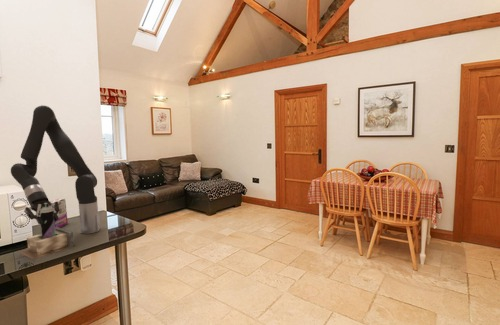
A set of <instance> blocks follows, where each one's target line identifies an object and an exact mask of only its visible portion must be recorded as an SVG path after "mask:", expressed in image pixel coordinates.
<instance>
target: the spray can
mask: <svg viewBox="0 0 500 325" xmlns="http://www.w3.org/2000/svg"><path fill="white" fill-rule="evenodd" d="M40 217H41V218H42V220H43V225H40V230H41V233H40V234H42V239H46V238H49V237H53V236H56V231H55V220H54V209H53V208H52V207H50V206H49V205H48V204H44V206H43V208H42V209H40Z"/></svg>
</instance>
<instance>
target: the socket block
mask: <svg viewBox="0 0 500 325" xmlns="http://www.w3.org/2000/svg"><path fill="white" fill-rule="evenodd" d="M55 231H56V236H53V237H49V238H46V239H42V233H39V234H35V235H32V236H28V237H26V241H27V248H28V250H30V251H32V252H34V253H37V254H39V255H41V254H44V253H47V252H50V251H53V250H56V249H59V248H62V247H65V246H68V239H67V234H66V233H63V232H60V231H57V230H55Z"/></svg>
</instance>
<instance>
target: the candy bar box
mask: <svg viewBox="0 0 500 325" xmlns="http://www.w3.org/2000/svg"><path fill="white" fill-rule="evenodd" d="M50 202H51V203H55V202H58V206H59V212H58V214H57V216H58V220H57V221H56V222H55V227H59V228H62V227H64V226H66V225H68V224H69V223H68V222H69V221H68V214H67V204H66V198H57V199H54V200H51V201H50ZM51 207H52V208H53V209H54V207H53V206H52V205H51ZM54 210H55V209H54Z"/></svg>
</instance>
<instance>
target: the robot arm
mask: <svg viewBox="0 0 500 325" xmlns="http://www.w3.org/2000/svg"><path fill="white" fill-rule="evenodd" d="M45 134H47V136H48V139H49V140H50V142H51V144H52V147H53V148H54V150H55V152H56V153H57V155H58V156H59V157H60V159H61V160H62V161H63V162H64V163H65V164H66V165H67V166H68V167H70V169H72V171H73V172H74V173H75V175H76V177H77V178H76V180H75V184H74V188H75V196H76V199H77V201H78V210H79V211H78V212H79V224H80V233H81V234H84V235H88V234H94V233H96V232H97V233H98V232H99V231H100V230H101V224H100V223H101V221H100V220H101V219H100V213H99V207H98V197H97V196H96V194H95V188H96V187H97V184H98V179H97V177H96V175H95V174H94V173H93V172H92V170H91V169H90V168H89V166H88V165H87V164H86V162H85V161H84V158H83V157H82V155H81V153H80V151H79V150H78V148H77V147H76V145H75V144H74V142H73V141H72V139H71V138H70V137H69V136H68V135H67V134H66V132H65V131H64V130H63V128H62V127H61V125H60V123H59V122H58V119H57V117H56V114H55V111H54V110H53V108H51V107H49V106H48V105H43V104H41V105H39V106H37V107H35V108H34V110H33V114H32V121H31V126H30V130H29V133H28V135H27V138H26V140H25V143H24V145H23V148H22V151H21V153H20V159H22V160H24V161H25V164H24V163H21V162H20V163H19V162H18V163H15V164H13V165H12V166H11V168H10V174H11V176H12V177H13V179H14V180H15V181H16V183H18V184H19V185H20V186H21V188H22V190H23V192H24V196H25V199H26V200H27V201H28V204H29V205H30V206H29V207H28V206H26V207H25V208H24V210H23V212H24V213H25V215H27V217H28V218H29V220H36V222H37V224H38V225H40V226H41V225H43V220H42V218H41V217H40V209H42V208H43V206H44V204H48V205H49V206H50V207H51V205H52V206H53V207H54V209H55V210H54V220H55V222H56V221H57V220H58V216H57V214H58V212H59V206H58V202H55V203H51V201H50V200H49V198H48V196H47V194H46V192H45V190H44V188H43V187H42V185H41V184H40V181H39V180H38V178H37V177H35V176H36V174H37V172H38V158H39V155H40V152H41V149H42V145H43V141H44V136H45ZM33 211H34V212H35V213H33Z"/></svg>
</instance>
